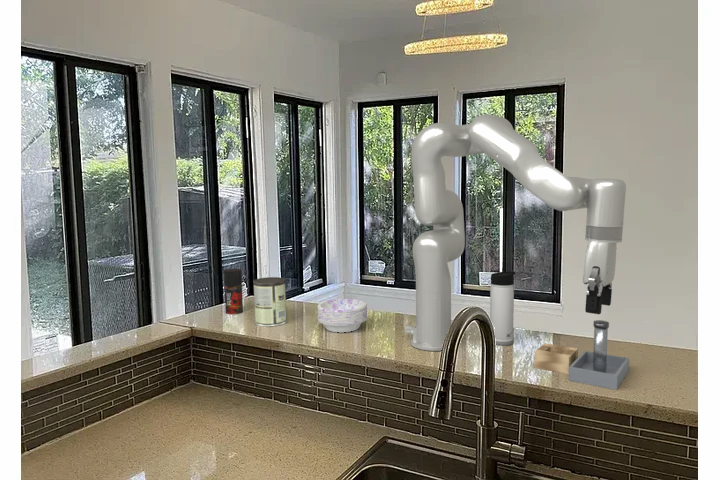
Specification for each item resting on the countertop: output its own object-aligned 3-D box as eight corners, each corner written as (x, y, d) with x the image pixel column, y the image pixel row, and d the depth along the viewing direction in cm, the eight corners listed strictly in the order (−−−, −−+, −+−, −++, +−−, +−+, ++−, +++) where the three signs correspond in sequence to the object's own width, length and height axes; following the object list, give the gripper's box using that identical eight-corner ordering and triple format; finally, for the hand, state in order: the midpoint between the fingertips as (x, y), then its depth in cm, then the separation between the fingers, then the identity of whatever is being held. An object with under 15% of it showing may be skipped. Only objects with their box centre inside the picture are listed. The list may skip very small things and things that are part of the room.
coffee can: (260, 318, 182) (259, 276, 180) (290, 319, 180) (289, 277, 179) (250, 326, 172) (248, 282, 170) (281, 327, 170) (280, 283, 168)
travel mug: (515, 346, 147) (516, 273, 145) (490, 345, 149) (491, 273, 146) (513, 339, 153) (514, 269, 151) (489, 338, 155) (490, 269, 152)
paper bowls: (322, 337, 158) (321, 311, 157) (314, 324, 173) (313, 300, 172) (372, 333, 162) (372, 307, 161) (360, 320, 177) (360, 296, 176)
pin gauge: (590, 373, 125) (592, 322, 123) (593, 369, 127) (595, 319, 126) (605, 376, 123) (607, 324, 121) (608, 372, 125) (610, 321, 124)
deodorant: (223, 314, 188) (221, 271, 186) (228, 310, 194) (226, 268, 192) (240, 314, 187) (238, 271, 186) (245, 310, 193) (243, 268, 192)
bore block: (534, 367, 131) (534, 351, 130) (544, 358, 137) (544, 343, 137) (568, 374, 126) (568, 357, 126) (577, 364, 133) (578, 348, 132)
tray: (568, 380, 122) (568, 367, 122) (584, 362, 133) (584, 350, 133) (616, 390, 116) (617, 376, 116) (628, 370, 128) (629, 358, 127)
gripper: (595, 229, 130) (590, 299, 133) (575, 236, 117) (570, 314, 119) (629, 232, 126) (623, 303, 128) (613, 239, 112) (607, 319, 114)
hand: (598, 308), depth 124 cm, fingers open, 9 cm apart
